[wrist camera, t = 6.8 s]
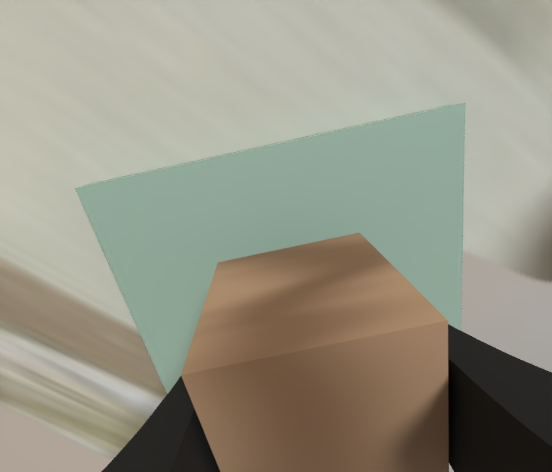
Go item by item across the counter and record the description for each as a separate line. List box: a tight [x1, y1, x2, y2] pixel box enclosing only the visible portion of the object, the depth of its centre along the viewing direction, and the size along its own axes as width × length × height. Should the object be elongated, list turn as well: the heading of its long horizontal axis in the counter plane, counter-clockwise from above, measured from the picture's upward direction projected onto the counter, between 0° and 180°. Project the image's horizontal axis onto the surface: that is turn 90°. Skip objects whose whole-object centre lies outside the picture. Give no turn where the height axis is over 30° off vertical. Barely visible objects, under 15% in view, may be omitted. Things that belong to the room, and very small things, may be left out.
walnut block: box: [181, 233, 449, 472], centre depth 9 cm, size 5×5×5 cm
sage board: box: [75, 103, 465, 394], centre depth 14 cm, size 16×12×1 cm
